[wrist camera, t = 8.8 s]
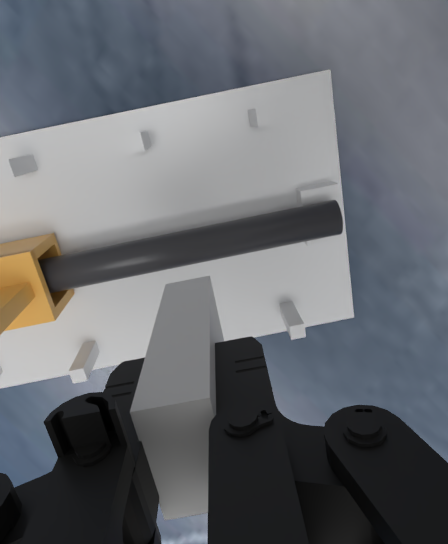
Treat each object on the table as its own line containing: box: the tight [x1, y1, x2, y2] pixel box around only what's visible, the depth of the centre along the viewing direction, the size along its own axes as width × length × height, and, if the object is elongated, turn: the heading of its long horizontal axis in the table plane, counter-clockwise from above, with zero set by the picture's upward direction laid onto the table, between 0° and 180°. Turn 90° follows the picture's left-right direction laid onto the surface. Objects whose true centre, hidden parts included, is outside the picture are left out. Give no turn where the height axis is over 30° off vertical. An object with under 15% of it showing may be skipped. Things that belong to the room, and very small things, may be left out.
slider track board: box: [0, 69, 354, 388], centre depth 22 cm, size 26×14×6 cm, turn 101°
